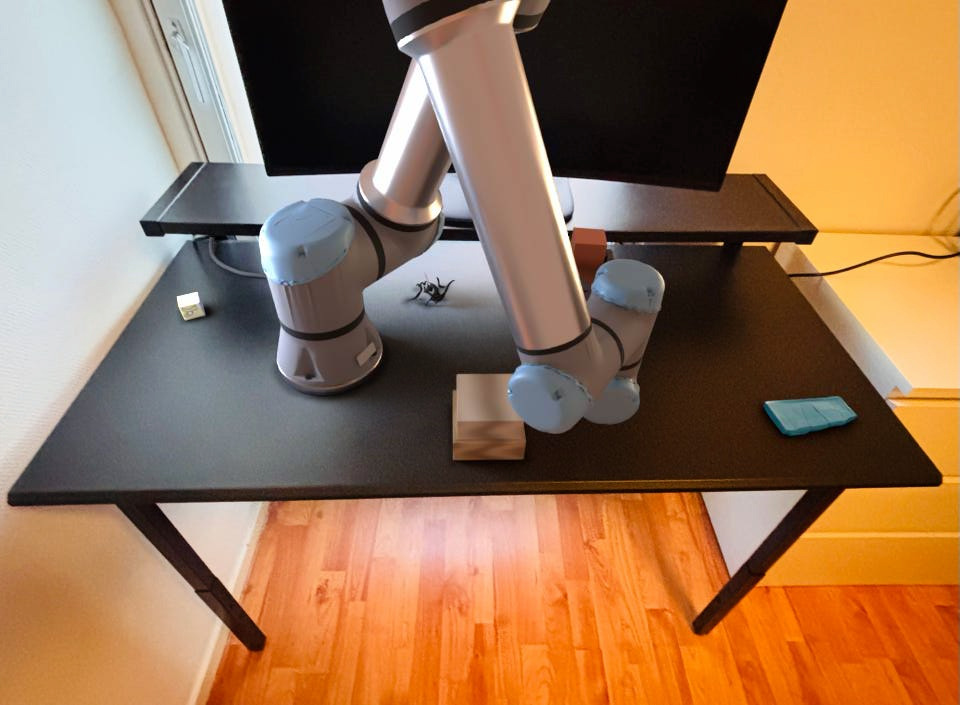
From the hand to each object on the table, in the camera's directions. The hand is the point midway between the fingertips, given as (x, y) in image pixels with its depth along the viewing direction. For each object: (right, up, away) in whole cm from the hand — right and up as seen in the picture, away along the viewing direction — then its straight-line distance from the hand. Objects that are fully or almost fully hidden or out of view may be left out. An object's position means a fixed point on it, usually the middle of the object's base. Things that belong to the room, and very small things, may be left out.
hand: (583, 240), depth 91 cm
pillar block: (-1, -8, 0) cm, 8 cm away
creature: (-27, -10, +1) cm, 28 cm away
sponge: (+29, -29, -16) cm, 44 cm away
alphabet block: (-65, -13, -4) cm, 66 cm away
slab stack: (-17, -30, -20) cm, 40 cm away
